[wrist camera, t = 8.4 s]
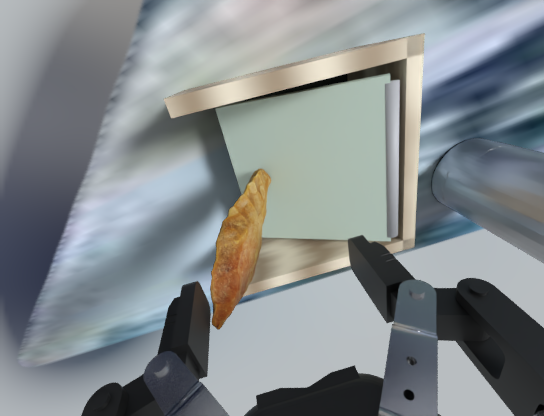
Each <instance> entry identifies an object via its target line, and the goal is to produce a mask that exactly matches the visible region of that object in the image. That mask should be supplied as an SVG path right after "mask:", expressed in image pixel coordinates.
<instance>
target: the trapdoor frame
mask: <svg viewBox="0 0 544 416" xmlns="http://www.w3.org/2000/svg"><path fill="white" fill-rule="evenodd" d="M424 35H425V33H423V34H418V35H413V36H408V37H403V38H398V39H394V40H389V41H384V42H379V43H374V44H369V45H364V46H359V47H354V48H350V49H346V50H342V51H338V52H334V53H331V54H327V55H323V56H319V57H315V58H311V59H307V60H303V61H299V62H295V63H291V64H287V65H283V66H279V67H275V68H271V69H267V70H263V71H259V72H255V73H251V74H247V75H243V76H239V77H235V78H231V79H227V80H223V81H219V82H215V83H211V84H207V85H203V86H199V87H195V88H191V89H187V90H184V91H181V92H179V93H177V94H174V95H172V96H170V97H167V98H165V99H164V101H165V104H166V106H167V109H168V111H169V114H170V116H171V118H175V117H179V116H183V115H187V114H191V113H195V112H199V111H202V110H206V109H210V108H214V107H218V106H222V105H226V104H230V103H234V102H238V101H242V100H245V99H249V98H253V97H257V96H261V95H265V94H269V93H273V92H277V91H281V90H285V89H288V88H292V87H296V86H300V85H304V84H308V83H312V82H316V81H320V80H324V79H328V78H332V77H335V76H339V75H343V74H347V78H348V81H352V80H357V79H362V78H367V77H372V76H378V75H383V74H388V73H390V81H391V80H400V100H399V192H398V236H396V237H394V238H391V241H368V242H369V243H371V242H377V243H379V244H381V245H383V246H385V247H386V248H387V250H388V251H389V252H390V253H391V254H392V253H396V252H399V251H403V250H406V249H410V248H413V247H414V244H415V223H416V202H417V181H418V160H419V139H420V119H421V98H422V77H423V56H424ZM347 266H351V265H350V260H349V250H348V240H329V239H296V238H264V237H262V246H261V250H260V253H259V258H258V261H257V264H256V268H255V274H254V276H253V279H252V281H251V282H250V284H249V285H248V288H247V291H246V292H245V294H244V295H243V296H247V295H250V294H254V293H257V292H260V291H264V290H267V289H271V288H274V287H278V286H281V285H285V284H288V283H292V282H295V281H299V280H302V279H306V278H309V277H313V276H316V275H319V274H323V273H326V272H330V271H333V270H337V269H340V268H344V267H347Z"/></svg>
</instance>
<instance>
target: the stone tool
mask: <svg viewBox="0 0 544 416" xmlns="http://www.w3.org/2000/svg"><path fill="white" fill-rule="evenodd" d="M270 183H271V177H270V176H269V175H268V173H267V172H266V171H265V170H263V169H258V170H256V171H255V172H254V173H253V175H252V176H251V178H250V180H249V182H248V184H247V185H246V188H245V190H244V193H243V194H242V195H241V196H240V197H239V199H238V200H237V201H236V202H235V204H234V206H233V207H231V208H230V209H229V213H228V217H227V218H226V219H225V220H224V221H223V222H222V226H221V229H220V233H219V235H218V238H217V241H216V260H215V263H214V266H213V269H212V271H211V275H212V280H211V287H210V290H211V298H212V302H213V318H212V325H213V326H215V327H216V328H217V329H220V328H221V327H222V325H223V324H224V322H225V321H226V319H227V318H228V317H229V316H230V315H231V313H232V311H233V310H234V308H235V306H236V305H237V304H238V303H239V301H240V299H241V298H242V297H243V295H244V294H245V292H246V291H247V288H248V285H249V284H250V282H251V281H252V279H253V276H254V274H255V268H256V264H257V261H258V258H259V253H260V250H261V246H262V226H263V223H264V219H265V216H266V212H267V210H266V204H267V192H268V188H269V185H270Z"/></svg>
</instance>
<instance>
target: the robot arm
mask: <svg viewBox="0 0 544 416" xmlns="http://www.w3.org/2000/svg"><path fill="white" fill-rule="evenodd" d="M432 190H433V194H434V196H435V197H436V199H437V200H438V201H440V202H441V203H442V204H444V205H446V206H448V207H449V208H451V209H453V210H454V211H456V212H458V213H459V214H461V215H463V216H464V217H466V218H468V219H469V220H471V221H473V222H474V223H476V224H478V225H479V226H481V227H483V228H485V229H486V230H488V231H490V232H491V233H493V234H495V235H496V236H498V237H500V238H502V239H503V240H505V241H507V242H508V243H510V244H512V245H513V246H515V247H517V248H518V249H520V250H522V251H524V252H525V253H527V254H529V255H530V256H532V257H534V258H535V259H537V260H539V261H541V262H542V263H544V153H543V152H538V151H534V150H530V149H526V148H522V147H518V146H514V145H510V144H506V143H502V142H495V141H491V140H486V139H482V138H473V139H469V140H466V141H464V142H462V143H460V144H458V145H456V146H455V147H454V148H452V149H451V150H450V151H449V152H448V153H447V154H446V155H445V156H444V157H443V158H442V160H441V161H440V162H439V164H438V166H437V168H436V170H435V172H434V175H433V179H432ZM348 250H349V260H350V265H351V268H352V270H353V272H354V274H355V275H356V277H357V278H358V280H359V281H360V283H361V284H362V286H363V287H364V289H365V291H366V292H367V294H368V295H369V297H370V298H371V300H372V301H373V303H374V304H375V305H376V307H377V309H378V310H379V312H380V313H381V315H382V316H383V318H384V320H385V321H386V322H387V323H389V322H393V321H394V324H392V329H391V335H390V341H389V348H388V355H387V361H386V368H385V375H384V379H382V378H380V377H377V376H374V375H370V374H358V372H357V370H356V368H355V366H352V367H348V368H345V369H342V370H338V371H335V372H332V373H330V374H328V375H327V376H325V377H323V378H322V379H321V380H319V381H318V382H316V383H314V384H313V385H311V386H310V387H307V388H279V389H276V390H273V391H270V392H266V393H263V394H260V395H257V396H256V399H257V405H256V406H254V407H253V408H252V409H251V410H249V411H248V412H247V413H246V414H245V415H244V416H441V415H439V414H438V409H437V406H438V402H437V400H438V395H437V394H438V393H437V392H438V385H437V384H438V380H437V379H438V377H437V376H438V375H437V374H438V370H437V369H438V362H437V361H438V356H437V355H438V347H437V345H438V340H449V341H456V342H457V343H458V345H459V346H460V347H461V348H462V350H463V351H464V352H465V354H466V355H467V356H468V357H469V359H470V360H471V361H472V362H473V364H474V365H475V366H476V367H477V369H478V370H479V371H480V372H481V374H482V375H483V376H484V377H485V379H486V380H487V381H488V382H489V384H490V385H491V386H492V388H493V389H494V390H495V392H496V393H497V394H498V395H499V396H500V398H501V399H502V400H503V402H504V403H505V404H506V405H507V407H508V408H509V409H510V410H511V412H512V413H513V414H514V416H544V328H543V327H542V326H540V324H538V323H537V322H536V321H535V320H534V319H532V318H531V317H530V316H529V315H528V314H527V313H525V312H524V311H523V310H522V309H521V308H519V307H518V306H517V305H516V304H515V303H514V302H513V301H511V300H510V299H509V298H508V297H507V296H505V295H504V294H503V293H502V292H501V291H500V290H498V289H497V288H496V287H495V286H494V285H492V284H490V283H489V282H487V281H484V280H481V279H476V278H466V279H463V280H461V281H460V282H459V283H458V284H457V288H433V287H432V286H431V285H429V284H428V283H426V282H424V281H421V280H416V279H415V278H414V277H413V276H412V275H411V274H410V273H409V272H408V271H407V270H406V269H405V268H404V267H403V266H402V264H401V263H400V262H399V261H398V260H396V259H395V257H394V256H393V255H392V254H391V253H390V252H389V251H388V250H387V248H386V247H385V246H383V245H381V244H379V243H377V242H371V243H369V242H368V240H367V239H366V238H365V237H364V236H363V235H360V236H356V237H353V238H349V239H348ZM166 317H167V318H166V320H165V326H164V329H163V333H162V338H161V342H160V346H159V350H158V354H157V356H155V357H154V358H153V359H152V360H151V361H150V362H149V364H148V365H147V367H146V369H145V372H144V374H143V375H142V376H140V377H139V378H137V379H135V380H133V381H132V382H130V383H129V384H127V385H125V386H124V387H122V386H121V385H119V384H118V383H109V384H107V385H105V386H103V387H101V388H100V389H99V390H97V391H96V392H95V393H94V394H93V395H92V397H91V398H90V399H89V401H88V402H87V404H86V406H85V408H84V410H83V413H82V415H81V416H229V415H228V413H227V412H226V411H225V410H224V409H223V407H222V406H221V405H220V404H219V403H218V401H217V400H216V399H215V398H214V397H213V396H212V394H211V393H210V392H209V391H208V389H207V388H206V387H205V386H204V385H203V384H202V383H201V382H199V379H200V378H203V377H207V371H208V351H209V333H210V306H209V302H208V300H207V298H206V296H205V294H204V292H203V290H202V287H201V285H200V283H199V282H198V281H196V282H193V283H189V284H186V285H183V286H182V290H181V295H180V297H177V298H174V300H173V301H172V303H171V304H170V306H169V308H168V312H167V316H166Z"/></svg>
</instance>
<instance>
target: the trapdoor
mask: <svg viewBox="0 0 544 416" xmlns="http://www.w3.org/2000/svg"><path fill="white" fill-rule="evenodd" d="M399 100H400V80H391V81H390V73H388V74H383V75H378V76H372V77H367V78H362V79H357V80H352V81H347V82H342V83H337V84H331V85H326V86H321V87H316V88H311V89H306V90H301V91H296V92H290V93H285V94H280V95H275V96H270V97H265V98H260V99H255V100H249V101H244V102H239V103H234V104H229V105H224V106H220V107H218V108H215V110H216V113H217V116H218V119H219V123H220V126H221V129H222V132H223V136H224V139H225V142H226V146H227V149H228V152H229V155H230V159H231V162H232V165H233V168H234V172H235V175H236V178H237V182H238V185H239V188H240V191H241V195H242V194H243V193H244V190H245V188H246V185H247V184H248V182H249V180H250V178H251V176H252V175H253V173H254V172H255V171H256V170H258V169H263V170H265V171H266V172H267V173H268V175H269V176H270V177H271V183H270V185H269V188H268V192H267V204H266V210H267V212H266V216H265V219H264V223H263V226H262V237H264V238H296V239H329V240H348V239H349V238H353V237H356V236H360V235H363V236H364V237H365V238H366V239H367V240H368V241H391V238H394V237H396V236H398V192H399Z"/></svg>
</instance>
